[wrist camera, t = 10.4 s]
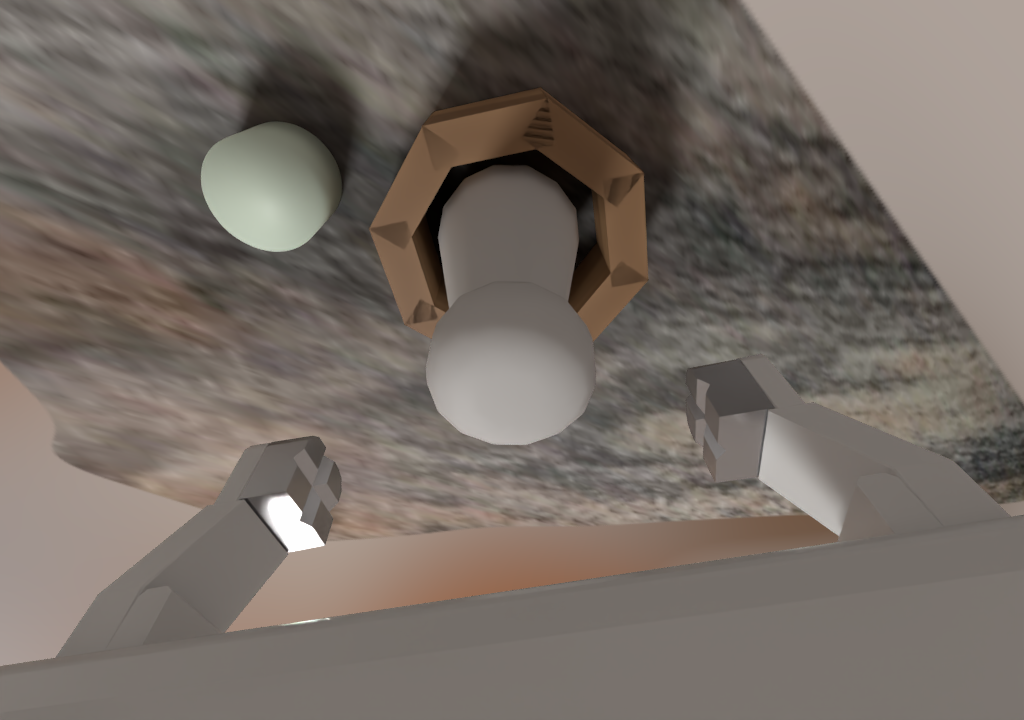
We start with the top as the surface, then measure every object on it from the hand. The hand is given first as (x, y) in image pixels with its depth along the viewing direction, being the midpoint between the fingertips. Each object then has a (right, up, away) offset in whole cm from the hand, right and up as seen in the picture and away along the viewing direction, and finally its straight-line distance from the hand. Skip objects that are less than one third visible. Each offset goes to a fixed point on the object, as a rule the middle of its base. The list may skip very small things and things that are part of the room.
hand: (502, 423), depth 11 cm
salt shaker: (0, +8, +12) cm, 14 cm away
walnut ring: (0, +8, +12) cm, 14 cm away
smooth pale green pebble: (-9, +9, +10) cm, 17 cm away
